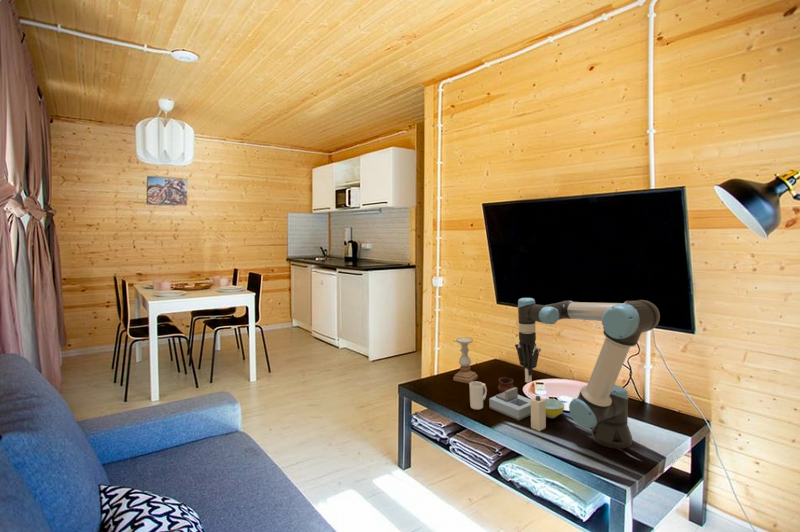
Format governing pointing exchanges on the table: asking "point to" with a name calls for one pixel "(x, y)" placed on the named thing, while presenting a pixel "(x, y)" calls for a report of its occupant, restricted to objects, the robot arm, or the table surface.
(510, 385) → the ceramic pot
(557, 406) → the bowl
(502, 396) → the grey wedge block
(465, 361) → the candle holder
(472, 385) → the mug
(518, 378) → the table surface
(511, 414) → the socket
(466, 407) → the table surface
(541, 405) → the beige square bottle
